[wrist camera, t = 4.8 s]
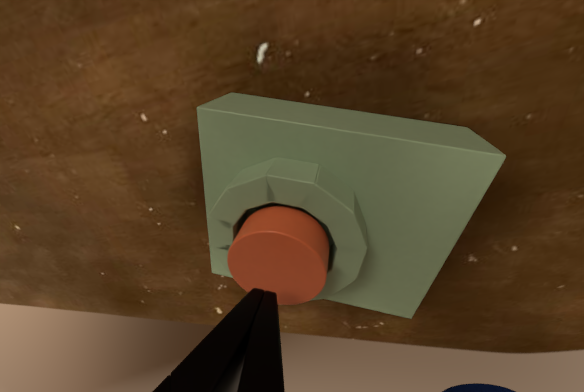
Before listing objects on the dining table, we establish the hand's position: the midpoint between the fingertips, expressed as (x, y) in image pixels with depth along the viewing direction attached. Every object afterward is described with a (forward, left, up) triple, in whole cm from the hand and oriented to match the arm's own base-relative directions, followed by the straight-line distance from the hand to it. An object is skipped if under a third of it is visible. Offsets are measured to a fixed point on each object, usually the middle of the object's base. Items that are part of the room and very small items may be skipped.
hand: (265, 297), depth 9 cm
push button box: (-2, 0, -8) cm, 8 cm away
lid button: (0, 0, -3) cm, 3 cm away
